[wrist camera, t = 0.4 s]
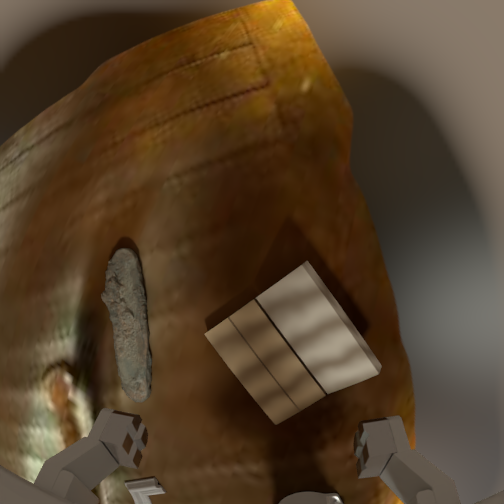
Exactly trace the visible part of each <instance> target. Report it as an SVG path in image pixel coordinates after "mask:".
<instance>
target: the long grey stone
mask: <svg viewBox="0 0 504 504" xmlns="http://www.w3.org/2000/svg"><path fill="white" fill-rule="evenodd" d="M141 270H142V269H141V266H140V263H139V259H138V256H137V254H136V253H135V252H134V251H133V250H132V249H129V248H121V249H118V250H116V252H115V254H114V256H113V257H112V259H111V260H109V264H108V269H107V270H106V285H105V291H103V293H102V294H101V298H102V300H103V302H104V303H105V304H106V305H107V307H108V310H109V311H110V320H111V321H112V323H113V330H114V336H113V338H114V348H115V353H116V356H115V358H116V360H117V362H116V363H117V365H118V373H119V376H120V377H121V381H122V384H121V385H122V389H123V390H124V391H125V393H126V395H127V396H128V397H129V398H130V399H132V400H133V401H135V402H143V401H145V400H146V399H147V398H149V396H150V393H151V388H150V383H151V381H152V376H151V364H152V358H151V354H150V351H149V341H148V340H149V334H150V332H149V330H148V323H147V319H146V318H147V315H146V310H147V301H146V296H145V294H144V293H145V292H144V287H143V277H142V274H141Z"/></svg>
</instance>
